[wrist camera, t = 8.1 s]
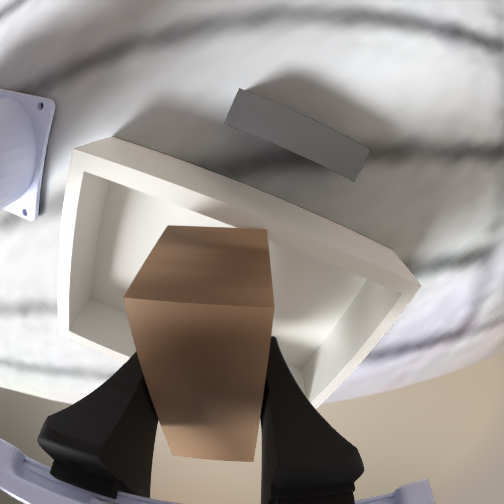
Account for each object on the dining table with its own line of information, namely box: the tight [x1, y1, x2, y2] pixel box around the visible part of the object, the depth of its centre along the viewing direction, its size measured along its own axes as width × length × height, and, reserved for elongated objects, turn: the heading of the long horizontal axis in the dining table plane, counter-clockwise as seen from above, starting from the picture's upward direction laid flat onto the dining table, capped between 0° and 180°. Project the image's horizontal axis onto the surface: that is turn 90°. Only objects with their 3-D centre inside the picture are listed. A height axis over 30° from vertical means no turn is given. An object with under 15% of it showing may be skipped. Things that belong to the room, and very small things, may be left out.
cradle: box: [224, 88, 370, 182], centre depth 10 cm, size 6×15×3 cm, turn 157°
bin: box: [58, 137, 421, 409], centre depth 16 cm, size 18×12×4 cm, turn 67°
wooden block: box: [123, 225, 275, 462], centre depth 12 cm, size 4×10×5 cm, turn 177°
